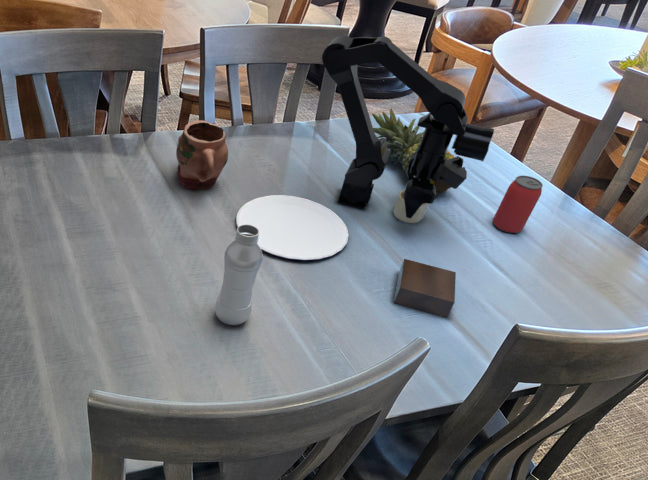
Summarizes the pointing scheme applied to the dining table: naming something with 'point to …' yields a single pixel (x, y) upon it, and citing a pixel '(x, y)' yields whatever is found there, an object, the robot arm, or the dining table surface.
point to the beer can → (518, 204)
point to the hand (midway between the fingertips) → (410, 208)
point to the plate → (294, 227)
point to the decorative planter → (201, 154)
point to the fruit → (404, 143)
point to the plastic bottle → (239, 276)
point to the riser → (425, 288)
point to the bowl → (401, 212)
